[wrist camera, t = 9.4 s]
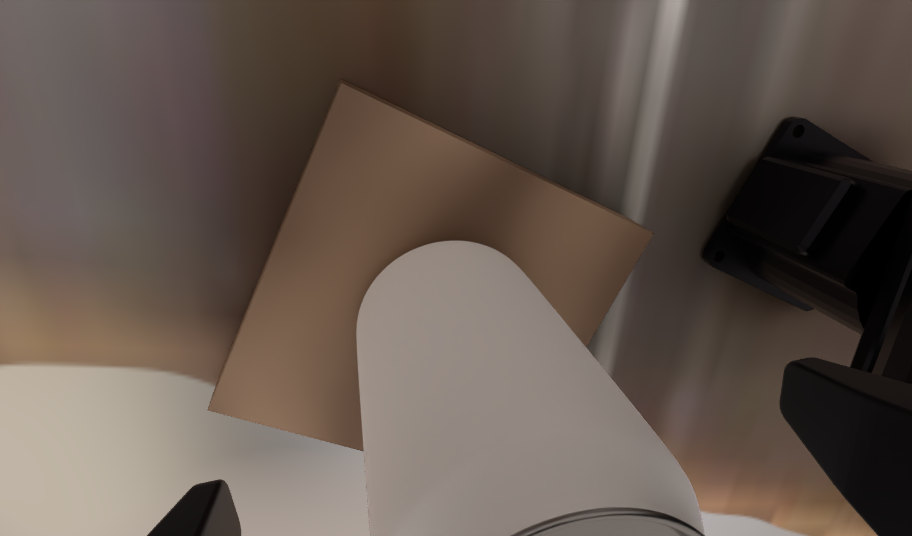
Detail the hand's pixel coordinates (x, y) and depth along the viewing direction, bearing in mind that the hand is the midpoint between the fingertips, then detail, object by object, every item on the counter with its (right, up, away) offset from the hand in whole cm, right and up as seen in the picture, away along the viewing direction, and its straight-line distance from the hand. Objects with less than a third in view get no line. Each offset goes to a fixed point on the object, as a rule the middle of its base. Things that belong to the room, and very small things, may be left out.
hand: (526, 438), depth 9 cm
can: (-1, +1, +12) cm, 12 cm away
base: (-2, +2, +13) cm, 13 cm away
